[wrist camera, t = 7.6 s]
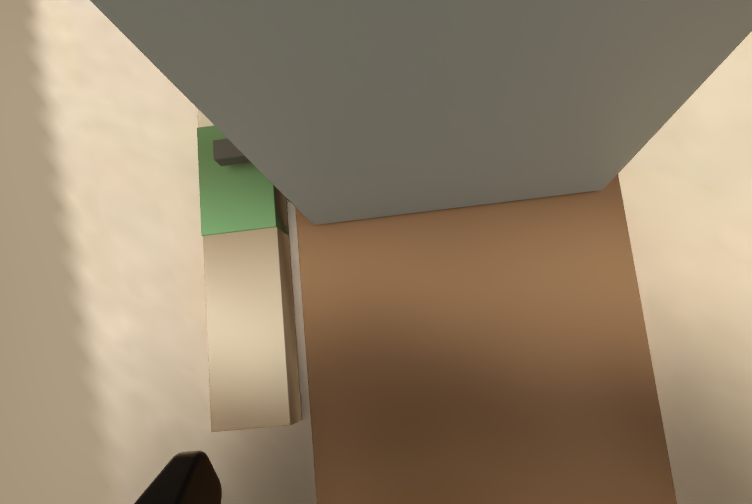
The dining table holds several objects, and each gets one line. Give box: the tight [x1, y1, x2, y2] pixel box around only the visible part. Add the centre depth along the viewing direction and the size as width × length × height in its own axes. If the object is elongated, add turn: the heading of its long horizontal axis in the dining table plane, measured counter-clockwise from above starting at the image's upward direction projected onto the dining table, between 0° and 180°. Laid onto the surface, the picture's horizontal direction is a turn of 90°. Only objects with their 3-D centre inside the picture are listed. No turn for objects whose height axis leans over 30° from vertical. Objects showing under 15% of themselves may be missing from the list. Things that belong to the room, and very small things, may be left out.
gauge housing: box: [197, 109, 677, 504], centre depth 11 cm, size 18×11×12 cm, turn 6°
